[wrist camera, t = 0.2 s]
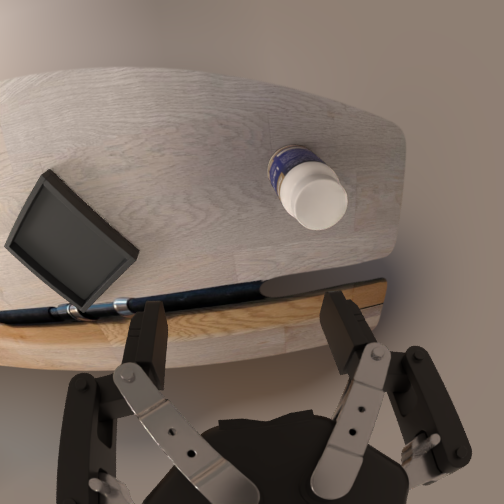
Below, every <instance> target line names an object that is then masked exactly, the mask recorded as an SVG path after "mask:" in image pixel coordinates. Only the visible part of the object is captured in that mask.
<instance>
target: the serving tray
mask: <svg viewBox="0 0 504 504" xmlns="http://www.w3.org/2000/svg"><path fill="white" fill-rule="evenodd" d="M4 247H5V248H6V249H7V250H8V251H9V252H10V253H11V254H12V255H13V256H15V257H16V258H17V259H18V260H19V261H20V262H21V263H22V264H23V265H24V266H26V267H27V268H28V269H29V270H30V271H31V272H32V273H34V274H35V275H36V276H37V277H38V278H39V279H41V280H42V281H43V282H44V283H45V284H47V285H48V286H49V287H50V288H52V289H53V290H54V291H55V292H57V293H58V294H59V295H60V296H62V297H63V298H64V299H66V300H67V301H68V302H70V303H71V304H72V305H74V306H75V307H76V308H78V309H79V310H80V311H82V312H83V313H84V312H85V311H86V310H87V309H88V308H89V307H90V306H91V305H92V304H93V303H94V302H95V301H96V300H97V299H98V298H99V297H100V296H101V295H102V294H103V293H104V292H105V291H106V290H107V289H108V288H109V286H110V285H111V284H112V283H113V282H114V281H116V280H117V279H118V278H119V277H120V276H121V275H122V274H123V273H124V272H125V271H126V270H127V269H128V268H129V267H130V266H131V265H132V264H133V263H134V262H135V261H136V259H137V256H138V254H139V250H138V249H136V248H135V247H134V246H133V245H132V244H131V243H129V242H128V241H127V240H126V239H125V238H124V237H122V236H121V235H120V234H119V233H118V232H117V231H116V230H114V229H113V228H112V227H111V226H110V225H109V224H108V223H106V222H105V221H104V220H103V219H102V218H101V217H100V216H99V215H98V214H96V213H95V212H94V211H93V210H92V209H91V208H90V207H89V206H88V205H87V204H85V203H84V202H83V201H82V200H81V199H80V198H79V197H78V196H77V195H76V194H75V193H74V192H73V191H72V190H71V189H70V188H69V187H67V186H66V185H65V184H64V183H63V182H62V181H61V180H60V179H59V178H58V177H57V176H56V175H55V174H54V173H53V172H52V171H51V170H50V169H49V170H47V171H46V172H45V173H43V174H42V175H41V176H40V178H39V179H38V181H37V183H36V184H35V186H34V188H33V190H32V191H31V193H30V195H29V197H28V199H27V200H26V202H25V204H24V206H23V208H22V210H21V212H20V214H19V216H18V218H17V220H16V222H15V224H14V226H13V228H12V230H11V232H10V234H9V237H8V239H7V241H6V243H5V246H4Z"/></svg>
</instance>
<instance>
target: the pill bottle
mask: <svg viewBox="0 0 504 504" xmlns="http://www.w3.org/2000/svg"><path fill="white" fill-rule="evenodd" d="M268 177H269V180H270V182H271V184H272V186H273V188H274V190H275V191H276V193H277V195H278V197H279V199H280V201H281V203H282V205H283V206H284V208H285V209H286V211H287V212H288V213H289V214H290V215H292V216H293V217H295V218H297V220H298V221H299V223H300V224H302V225H303V226H304V227H306V228H308V229H312V230H323V229H327V228H329V227H331V226H333V225H335V224H336V223H337V222H338V221H339V220H340V219H341V218H342V217H343V215H344V213H345V211H346V209H347V204H348V198H347V194H346V191H345V189H344V188H343V186H342V185H341V184H340V182H339V179H338V177H337V175H336V173H335V172H334V171H333V170H332V169H331V168H330V167H329V166H328V165H327V164H326V163H324V162H323V161H322V160H321V159H320V158H319V157H317V156H316V155H315V154H314V153H313V152H311V151H310V150H309V149H307V148H305V147H303V146H299V145H289V146H285V147H283V148H281V149H279V150H278V151H277V152H275V154H274V155H273V156H272V157H271V159H270V161H269V164H268Z"/></svg>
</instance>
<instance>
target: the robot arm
mask: <svg viewBox="0 0 504 504" xmlns="http://www.w3.org/2000/svg"><path fill="white" fill-rule="evenodd" d="M320 323H321V326H322V329H323V331H324V334H325V336H326V339H327V342H328V344H329V347H330V349H331V352H332V354H333V357H334V360H335V362H336V365H337V367H338V370H339V373H340V375H343V374H348V375H349V380H348V382H347V384H346V387H345V389H344V392H343V394H342V396H341V399H340V401H339V403H338V406H337V408H336V410H335V412H334V414H333V416H332V418H331V419H329V418H327V417H323V416H318V415H314V414H313V410H306V411H300V412H295V413H289V414H287V415H284V416H281V417H279V418H276V419H273V420H271V421H257V420H249V419H231V420H230V419H229V420H219V426H216V427H213V428H211V429H209V430H207V431H205V432H203V433H202V434H201V435H200V434H199V433H198V432H197V431H196V430H195V429H194V428H193V427H192V426H191V424H190V423H189V422H188V421H187V420H186V419H185V418H184V417H183V416H182V414H181V413H180V412H179V411H178V410H177V409H176V408H175V406H174V405H173V404H172V403H171V402H170V401H169V400H168V399H165V398H164V397H163V396H162V394H161V393H160V392H159V390H164V376H165V362H166V350H167V339H168V325H167V320H166V316H165V311H164V307H163V303H162V301H147V302H146V305H145V309H144V312H137V313H136V314H135V315H134V317H133V318H132V319H131V322H130V326H129V331H128V337H127V340H126V345H125V350H124V355H123V360H122V364H121V365H120V366H118V367H117V368H116V369H115V371H114V373H112V374H111V375H107V376H104V377H99V378H94V377H93V376H92V375H91V374H88V373H80V374H77V375H75V376H74V377H73V378H72V379H71V381H70V383H69V387H68V392H67V397H66V403H65V409H64V415H63V422H62V429H61V437H60V446H59V456H58V469H57V492H56V495H57V496H56V503H57V504H135V503H134V502H133V500H132V499H131V496H130V492H129V489H128V488H127V486H126V485H125V484H124V483H122V482H121V481H119V480H118V479H116V433H117V418H121V417H124V416H129V415H133V414H135V415H136V416H137V417H138V419H139V420H140V421H141V423H142V424H143V426H144V427H145V428H146V430H147V431H148V432H149V434H150V435H151V436H152V437H153V439H154V440H155V441H156V442H157V444H158V445H159V446H160V448H161V449H162V450H163V451H164V453H165V454H166V455H167V456H168V457H169V458H170V460H171V461H172V462H173V463H174V464H175V465H174V466H173V467H172V468H171V469H170V471H169V472H168V473H167V474H166V475H165V477H164V478H163V479H162V480H161V481H160V482H159V484H158V485H157V486H156V487H155V488H154V489H153V490H152V492H151V493H150V494H149V495H148V496H147V497H146V499H145V500H144V501H143V503H142V504H406V501H407V495H408V491H409V490H410V489H413V488H415V487H417V486H420V485H430V484H432V483H434V482H436V481H438V480H440V479H442V478H444V477H446V476H448V475H450V474H451V473H453V472H455V471H457V470H459V469H460V468H462V467H464V466H465V465H467V464H468V463H469V461H470V459H471V456H472V449H471V446H470V444H469V441H468V438H467V436H466V433H465V431H464V428H463V426H462V423H461V421H460V419H459V416H458V414H457V412H456V409H455V407H454V405H453V403H452V401H451V398H450V396H449V394H448V392H447V390H446V388H445V385H444V383H443V381H442V379H441V377H440V375H439V373H438V372H437V369H436V367H435V365H434V363H433V361H432V359H431V357H430V356H429V354H428V352H427V351H426V350H425V349H424V348H422V347H419V346H411V347H409V348H408V349H407V351H406V352H405V353H402V352H391V351H389V349H388V348H387V347H386V346H385V345H383V344H381V343H378V342H377V341H376V339H375V337H374V335H373V333H372V331H371V329H370V327H369V326H368V324H367V322H366V321H365V318H364V316H363V315H362V313H361V311H360V309H359V307H358V306H357V305H356V304H355V303H354V302H353V301H352V300H351V299H350V300H346V298H345V297H344V295H343V293H342V291H329V292H326V293H325V295H324V299H323V303H322V307H321V311H320ZM384 392H387V394H388V396H389V399H390V401H391V405H392V407H393V410H394V412H395V415H396V418H397V421H398V424H399V427H400V430H401V433H402V436H403V439H404V442H405V447H404V448H403V450H402V454H401V456H402V459H401V461H402V465H400V464H399V463H397V462H395V461H394V460H392V459H391V458H389V457H388V456H386V455H384V454H383V453H381V452H380V451H378V450H376V449H375V448H374V447H372V446H370V445H369V444H368V442H369V439H370V436H371V434H372V431H373V428H374V425H375V422H376V419H377V416H378V413H379V410H380V407H381V403H382V400H383V396H384Z"/></svg>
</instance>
